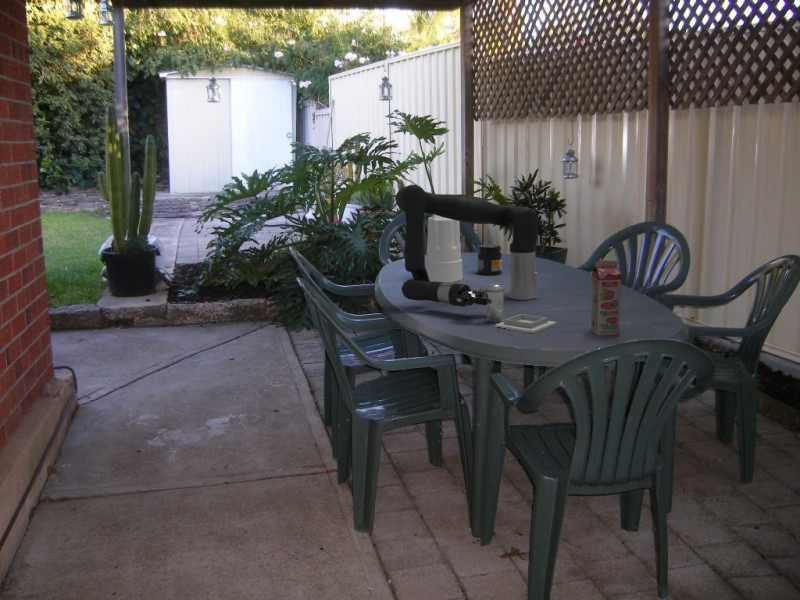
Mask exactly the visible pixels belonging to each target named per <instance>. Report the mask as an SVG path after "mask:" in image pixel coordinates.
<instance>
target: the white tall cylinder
mask: <svg viewBox="0 0 800 600" xmlns="http://www.w3.org/2000/svg"><path fill="white" fill-rule="evenodd" d="M460 230H461V228H460V221H456V220H452V219H448V218H444V217H441V216H437V215H434V214H432V216H429V217H428V220H427V243H426V270H427V274H428V277H429V281H430V282H435V281H436V282H445V283H447V282H450V283H454V282H458V281H461V280H463V279H464V274H463V259H462V253H461V251H462V249H461V231H460Z"/></svg>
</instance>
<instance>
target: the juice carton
mask: <svg viewBox="0 0 800 600" xmlns="http://www.w3.org/2000/svg"><path fill="white" fill-rule="evenodd" d="M618 263H619V261H618V260H610V261H608V260H607V261H605V260H604V261H599V260H598V261H597V260H595V266H594V268H593V269H592V270H591V301H590V302H591V304H590V305H591V307H590V308H591V309H590V310H591V311H590V331H591V332H592V333H593V334H595V335H596V336H598V337H599V336H617V335H618V336H619V335H620V316H621V315H620V314H621V313H620V312H621V288H622V286H621V285H622V284H621V283H622V282H621V281H622V273H621V271H620V269H619V267H618Z"/></svg>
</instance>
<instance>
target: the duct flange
mask: <svg viewBox="0 0 800 600" xmlns="http://www.w3.org/2000/svg"><path fill="white" fill-rule="evenodd" d="M556 325H557V321H552V320H549V318H548V317H544V316H538V315H537V316H536V315H532V314H525V313H519V314H515V315H513V316H511V317H508V318H504V319H503V322H500V323H495V324H494V328H497V327H501V328H500V329H503V328H506V329H505V330H509V329H510V331H515V330H516V331H515V332H522V333H523V332H524V333H528V334H535V333H538V332H541V331H543V330H546V329H548V328H551V327H553V326H556Z"/></svg>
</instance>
